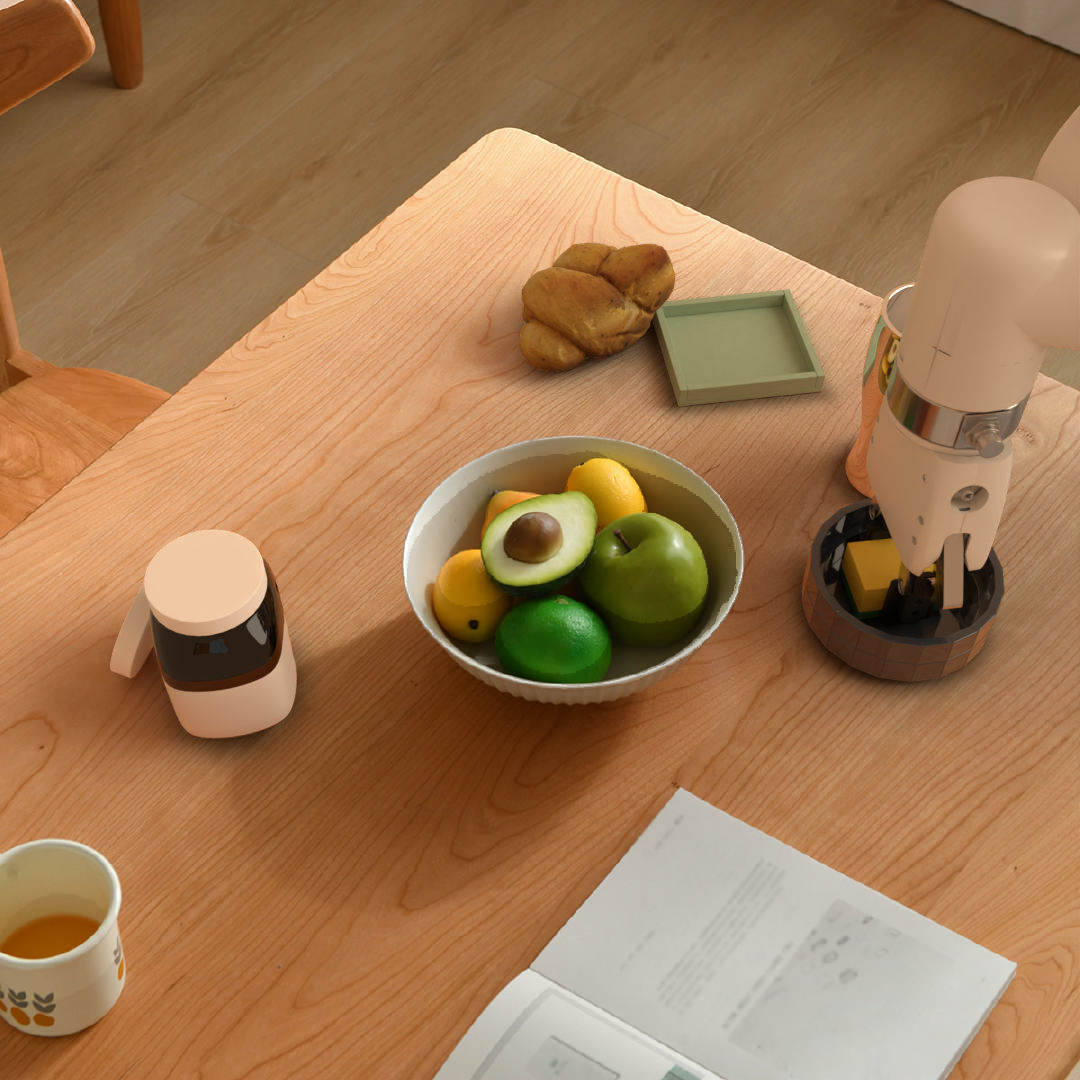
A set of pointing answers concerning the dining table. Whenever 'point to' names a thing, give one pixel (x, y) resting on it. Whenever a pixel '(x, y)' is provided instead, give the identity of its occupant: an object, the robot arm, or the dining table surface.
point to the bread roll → (592, 303)
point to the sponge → (870, 575)
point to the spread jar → (213, 635)
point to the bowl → (897, 645)
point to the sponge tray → (736, 348)
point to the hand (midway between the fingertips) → (893, 588)
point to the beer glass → (877, 378)
